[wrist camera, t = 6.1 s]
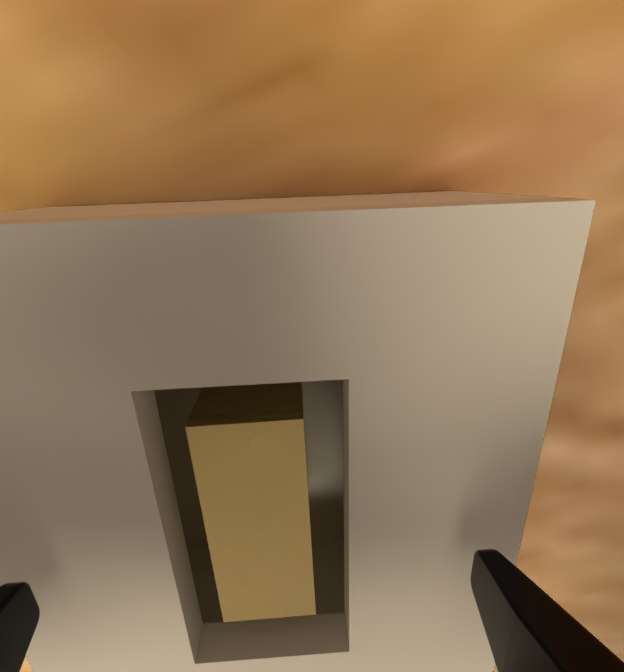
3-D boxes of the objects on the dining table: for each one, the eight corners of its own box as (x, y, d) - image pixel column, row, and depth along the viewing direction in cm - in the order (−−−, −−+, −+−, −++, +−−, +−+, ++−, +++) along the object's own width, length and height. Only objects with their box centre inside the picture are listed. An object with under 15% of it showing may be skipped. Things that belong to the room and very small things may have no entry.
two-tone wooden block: (298, 331, 13) (303, 419, 8) (308, 479, 15) (315, 614, 10) (224, 336, 13) (184, 427, 8) (244, 484, 15) (223, 622, 10)
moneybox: (453, 190, 12) (595, 199, 6) (421, 534, 17) (485, 705, 12) (47, 206, 12) (-180, 231, 6) (141, 553, 17) (67, 741, 11)
